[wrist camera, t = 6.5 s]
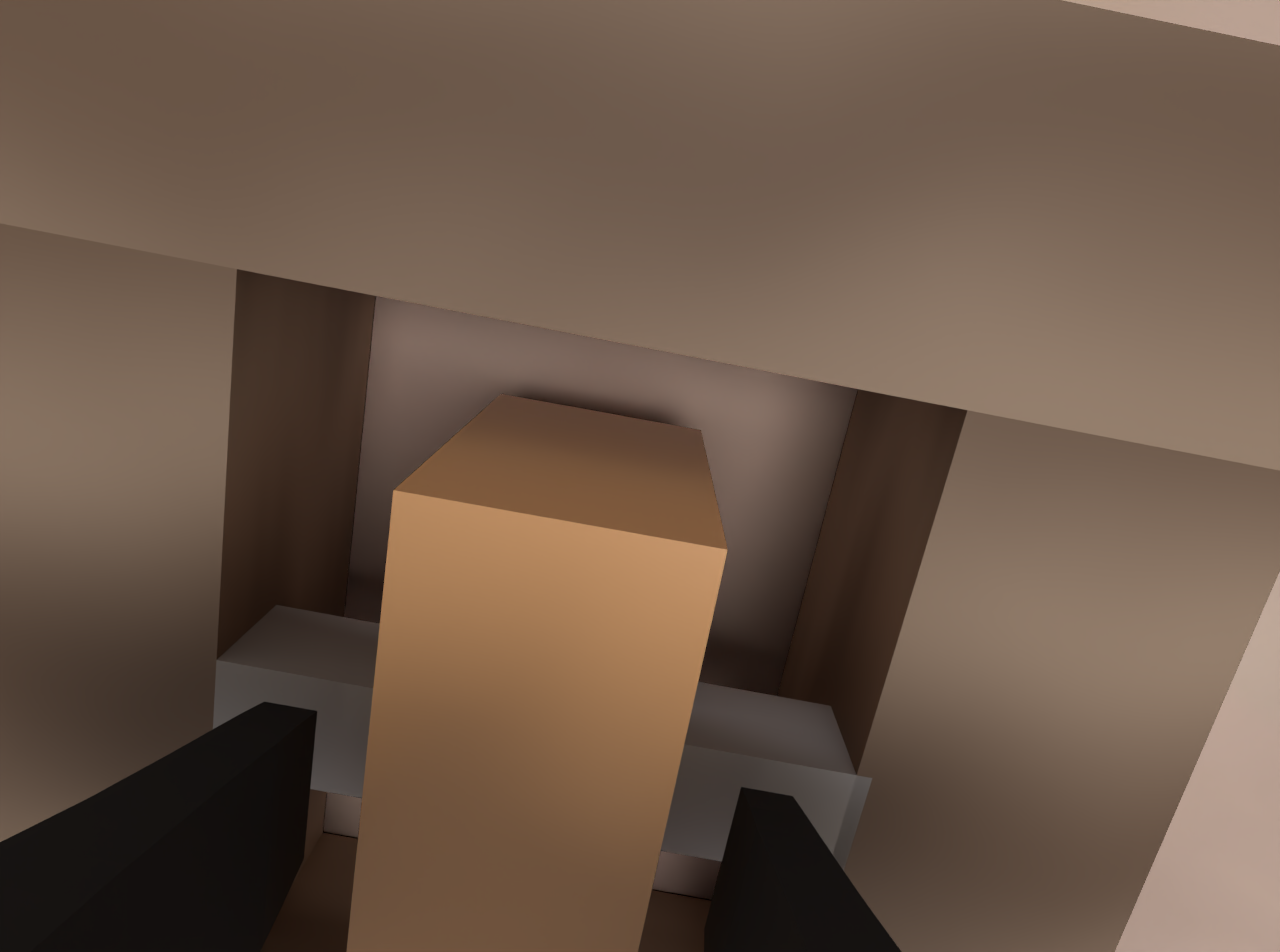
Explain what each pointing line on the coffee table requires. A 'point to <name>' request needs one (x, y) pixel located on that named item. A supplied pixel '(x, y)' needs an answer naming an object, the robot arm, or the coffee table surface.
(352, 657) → the brown piece
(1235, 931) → the coffee table surface
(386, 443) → the coffee table surface
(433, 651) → the tan rectangular block
